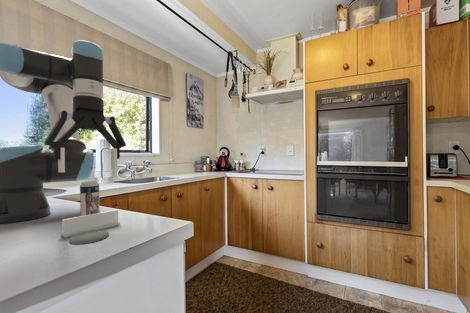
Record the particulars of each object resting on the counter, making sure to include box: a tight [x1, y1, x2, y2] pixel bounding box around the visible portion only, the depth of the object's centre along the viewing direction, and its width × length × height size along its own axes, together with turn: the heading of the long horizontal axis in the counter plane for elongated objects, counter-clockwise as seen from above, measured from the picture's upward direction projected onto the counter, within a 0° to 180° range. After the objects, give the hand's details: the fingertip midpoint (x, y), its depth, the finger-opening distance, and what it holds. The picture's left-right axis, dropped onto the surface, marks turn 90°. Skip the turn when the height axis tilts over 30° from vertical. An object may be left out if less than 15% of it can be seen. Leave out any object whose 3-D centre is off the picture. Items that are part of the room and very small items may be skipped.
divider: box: [60, 209, 121, 238], centre depth 62 cm, size 3×13×4 cm, turn 142°
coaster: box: [68, 230, 109, 245], centre depth 55 cm, size 8×8×1 cm
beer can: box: [79, 180, 100, 216], centre depth 68 cm, size 5×5×12 cm
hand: (89, 170), depth 67 cm, fingers open, 13 cm apart
